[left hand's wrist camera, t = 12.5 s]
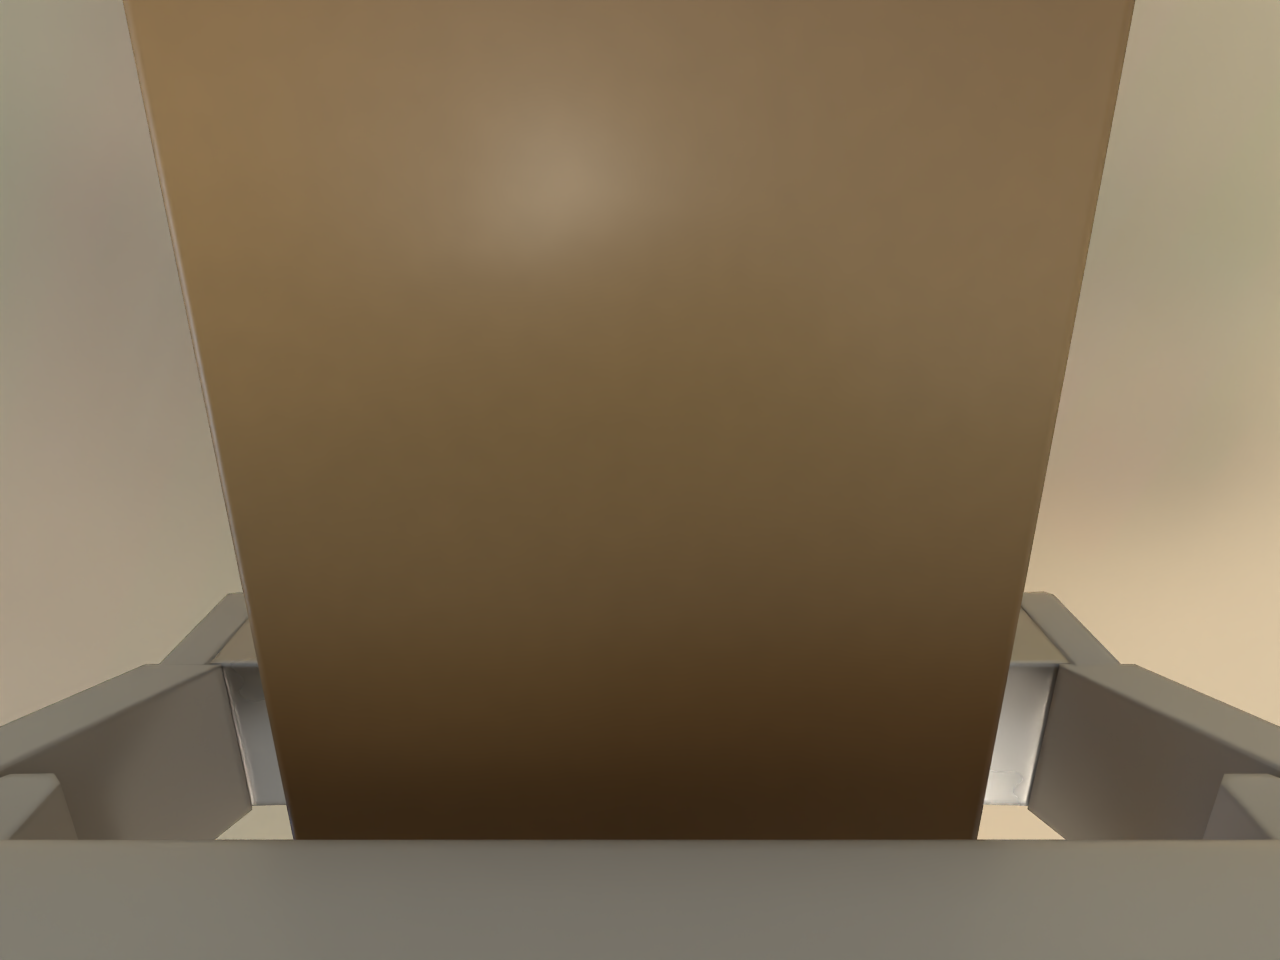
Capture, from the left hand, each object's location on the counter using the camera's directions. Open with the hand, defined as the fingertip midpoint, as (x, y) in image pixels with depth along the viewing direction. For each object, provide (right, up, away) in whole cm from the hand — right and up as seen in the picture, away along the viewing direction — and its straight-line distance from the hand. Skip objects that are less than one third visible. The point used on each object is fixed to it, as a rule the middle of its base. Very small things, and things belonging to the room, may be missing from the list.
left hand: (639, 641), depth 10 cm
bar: (0, +9, +3) cm, 9 cm away
